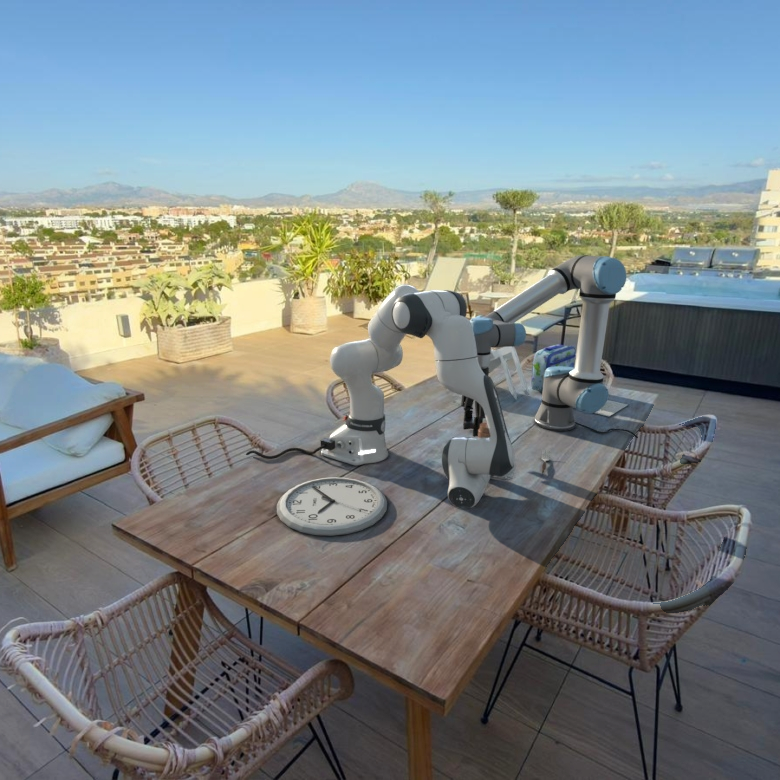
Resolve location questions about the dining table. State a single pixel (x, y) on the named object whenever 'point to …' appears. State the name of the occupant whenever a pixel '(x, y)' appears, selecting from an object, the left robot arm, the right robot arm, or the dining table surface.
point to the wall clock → (331, 506)
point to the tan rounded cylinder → (483, 431)
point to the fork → (545, 460)
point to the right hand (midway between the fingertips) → (472, 432)
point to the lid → (469, 422)
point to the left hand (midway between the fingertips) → (485, 454)
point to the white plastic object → (502, 357)
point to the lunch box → (550, 362)
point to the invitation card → (611, 408)
